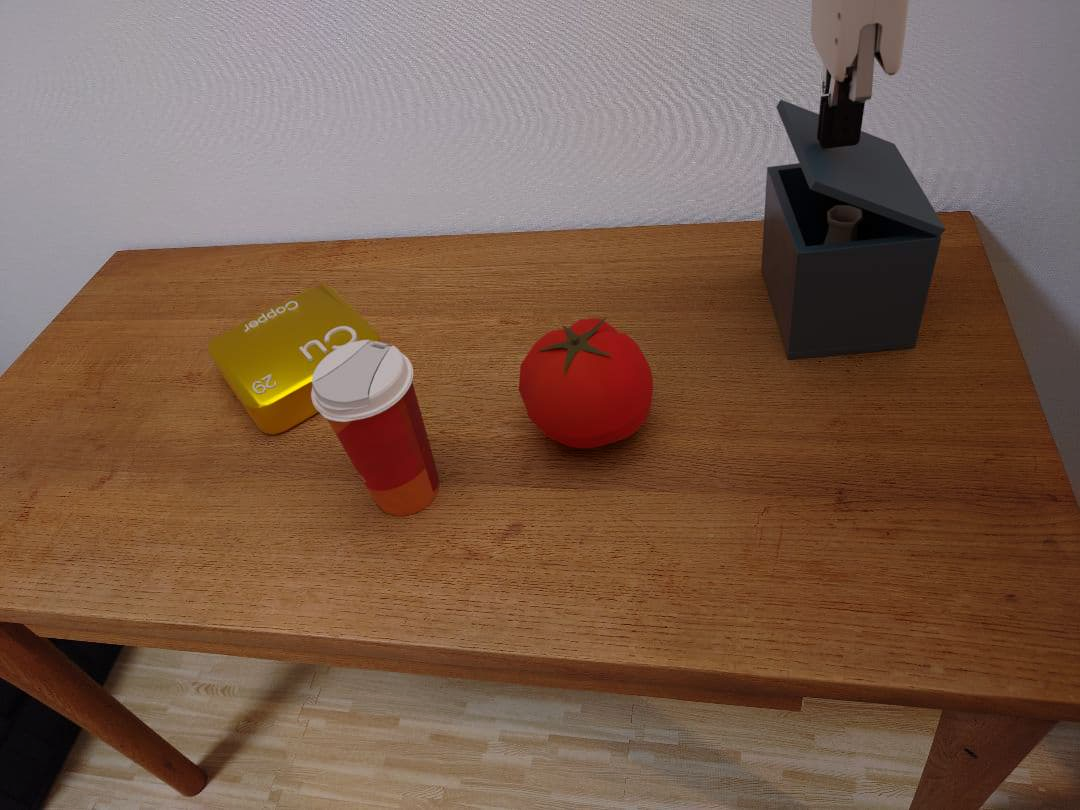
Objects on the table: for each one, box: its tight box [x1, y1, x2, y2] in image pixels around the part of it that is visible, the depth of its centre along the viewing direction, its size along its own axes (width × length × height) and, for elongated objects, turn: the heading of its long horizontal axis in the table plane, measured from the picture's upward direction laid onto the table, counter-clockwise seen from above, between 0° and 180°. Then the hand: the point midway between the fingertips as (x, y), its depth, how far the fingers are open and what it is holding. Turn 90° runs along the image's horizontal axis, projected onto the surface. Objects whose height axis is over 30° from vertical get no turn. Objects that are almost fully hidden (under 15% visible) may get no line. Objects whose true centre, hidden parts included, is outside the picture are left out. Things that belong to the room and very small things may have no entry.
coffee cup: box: [311, 340, 440, 517], centre depth 68 cm, size 8×8×15 cm
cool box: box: [760, 162, 942, 360], centre depth 77 cm, size 12×15×12 cm
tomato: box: [518, 315, 654, 450], centre depth 71 cm, size 12×12×11 cm
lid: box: [775, 99, 947, 236], centre depth 71 cm, size 13×15×1 cm
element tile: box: [207, 284, 382, 435], centre depth 85 cm, size 15×15×5 cm
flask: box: [824, 205, 863, 244], centre depth 78 cm, size 7×7×10 cm
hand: (837, 142), depth 69 cm, fingers closed
